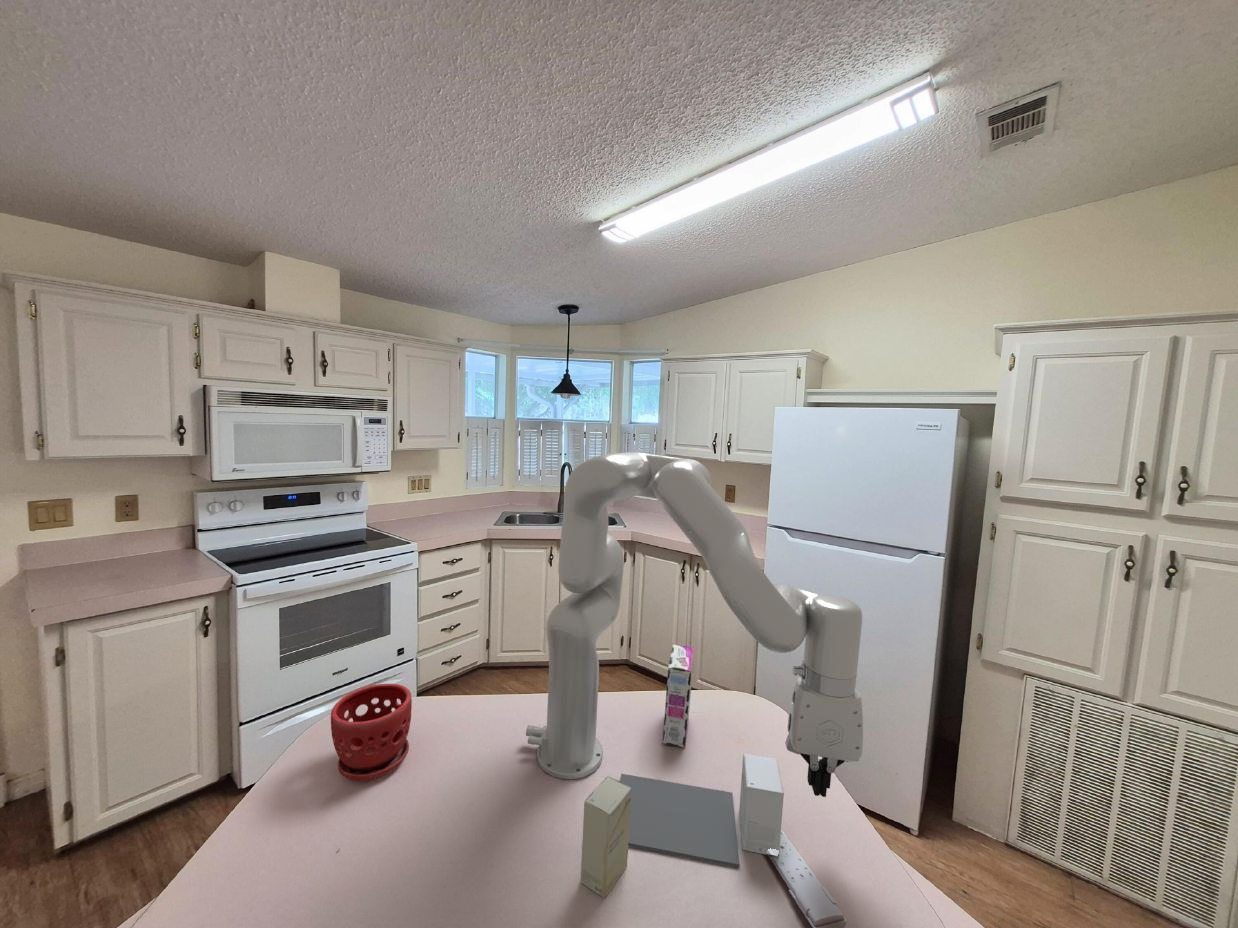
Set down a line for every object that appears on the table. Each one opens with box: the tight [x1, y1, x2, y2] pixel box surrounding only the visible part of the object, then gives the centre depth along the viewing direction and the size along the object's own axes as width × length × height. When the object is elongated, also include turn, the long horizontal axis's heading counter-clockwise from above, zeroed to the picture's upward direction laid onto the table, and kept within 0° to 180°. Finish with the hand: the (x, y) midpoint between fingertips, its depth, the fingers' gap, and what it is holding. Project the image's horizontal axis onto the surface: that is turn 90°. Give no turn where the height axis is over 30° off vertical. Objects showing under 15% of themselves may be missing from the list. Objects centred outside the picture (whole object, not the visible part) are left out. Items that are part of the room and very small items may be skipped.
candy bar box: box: [661, 644, 695, 749], centre depth 100 cm, size 11×5×16 cm, turn 169°
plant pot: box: [330, 683, 413, 782], centre depth 86 cm, size 13×13×12 cm
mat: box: [619, 773, 741, 869], centre depth 78 cm, size 20×14×1 cm
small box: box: [738, 753, 785, 856], centre depth 76 cm, size 8×6×10 cm
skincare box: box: [580, 775, 631, 898], centre depth 67 cm, size 6×4×12 cm
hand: (817, 789), depth 74 cm, fingers closed
